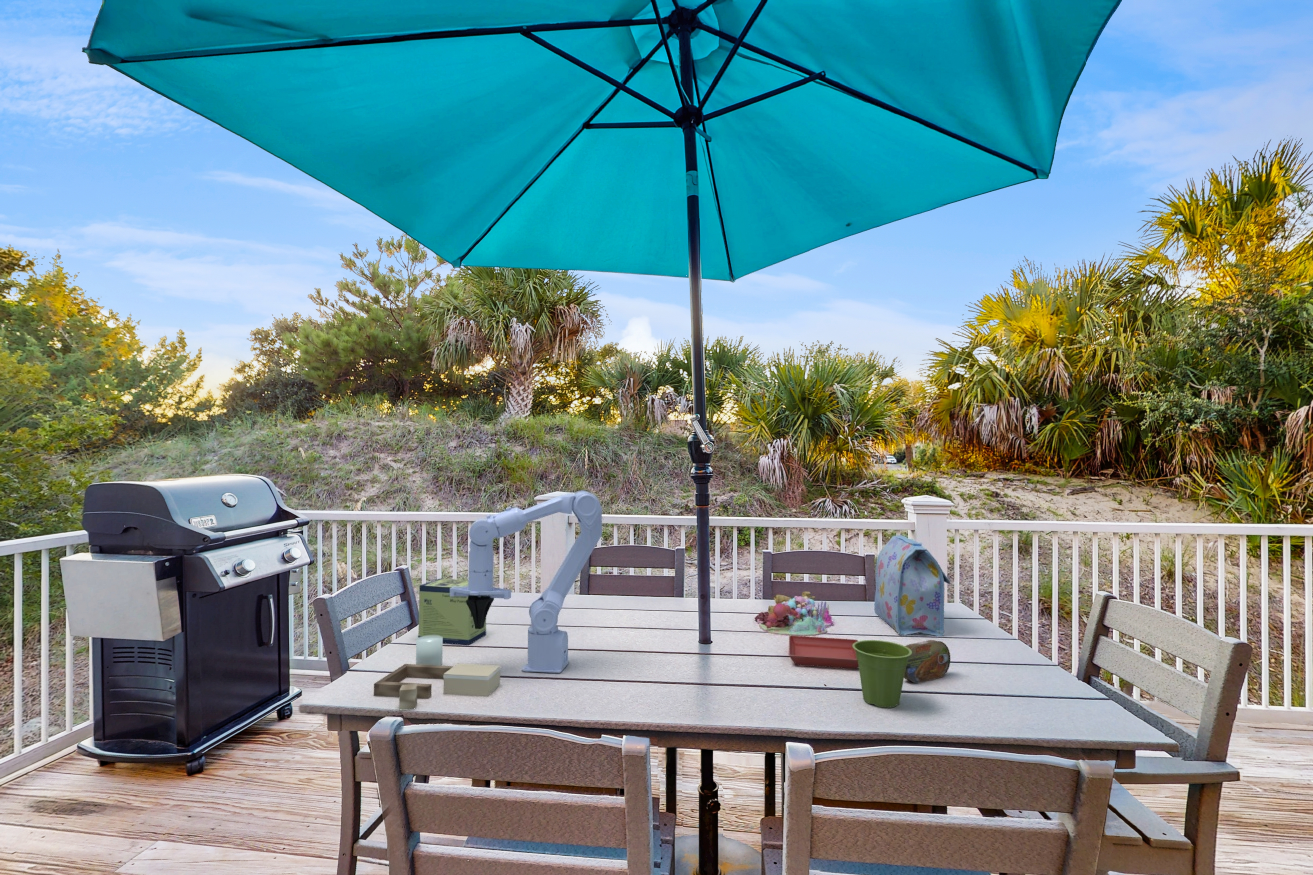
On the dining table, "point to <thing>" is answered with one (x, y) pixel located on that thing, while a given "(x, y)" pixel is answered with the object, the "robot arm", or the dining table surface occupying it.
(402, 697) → the beech block
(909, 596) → the lunch bag
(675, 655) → the dining table surface
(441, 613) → the protein box
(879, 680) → the plant pot
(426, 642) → the dome-topped pale cylinder
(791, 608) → the coral reef model
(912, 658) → the tin
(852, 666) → the plant saucer
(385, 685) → the brown square frame
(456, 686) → the beige rectangular block
